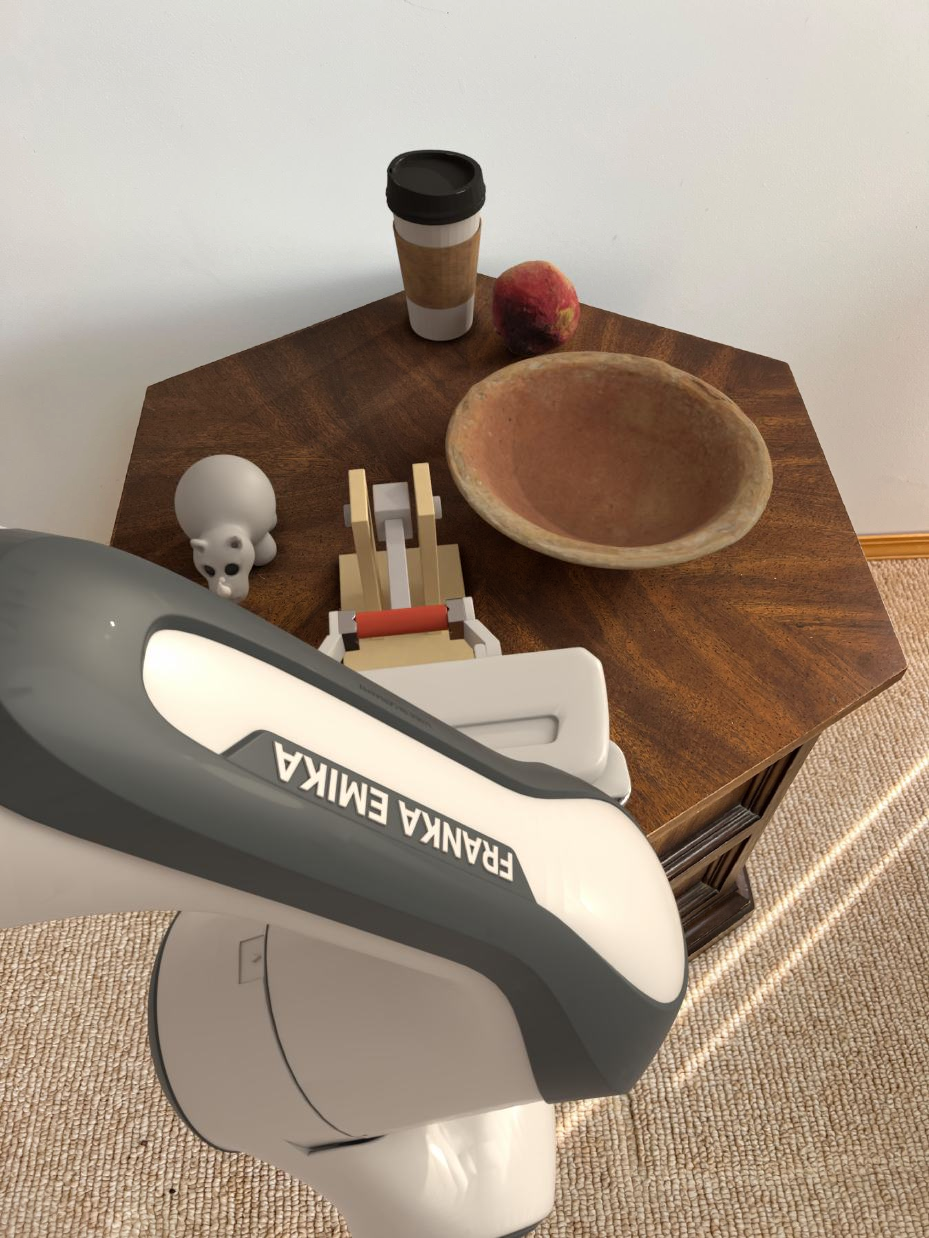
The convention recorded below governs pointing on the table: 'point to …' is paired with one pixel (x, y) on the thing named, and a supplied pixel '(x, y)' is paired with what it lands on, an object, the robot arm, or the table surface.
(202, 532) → the chubby cartoon animal
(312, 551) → the table surface
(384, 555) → the wooden lever stand
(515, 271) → the fruit
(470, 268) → the coffee cup
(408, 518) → the lever
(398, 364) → the table surface
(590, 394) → the bowl
